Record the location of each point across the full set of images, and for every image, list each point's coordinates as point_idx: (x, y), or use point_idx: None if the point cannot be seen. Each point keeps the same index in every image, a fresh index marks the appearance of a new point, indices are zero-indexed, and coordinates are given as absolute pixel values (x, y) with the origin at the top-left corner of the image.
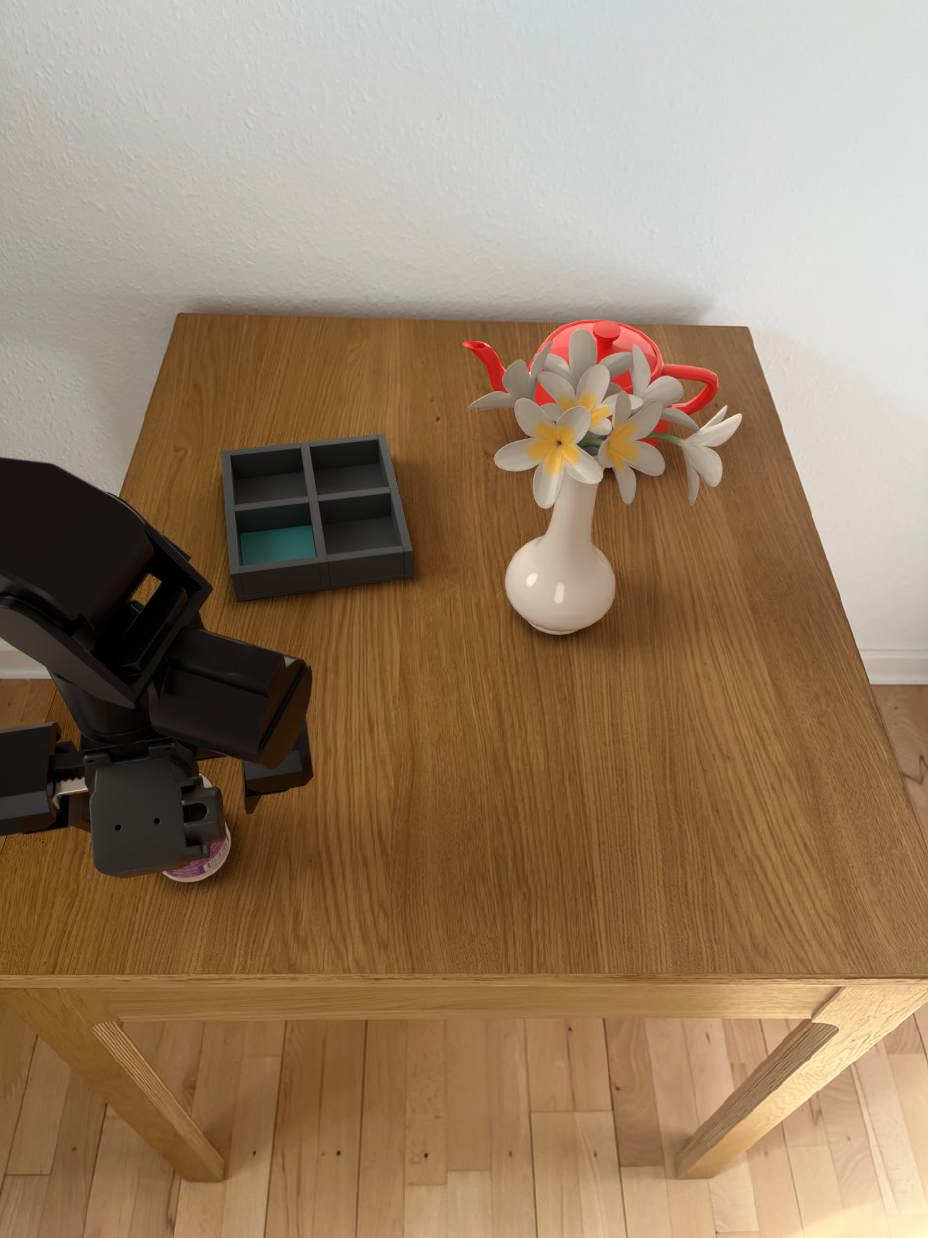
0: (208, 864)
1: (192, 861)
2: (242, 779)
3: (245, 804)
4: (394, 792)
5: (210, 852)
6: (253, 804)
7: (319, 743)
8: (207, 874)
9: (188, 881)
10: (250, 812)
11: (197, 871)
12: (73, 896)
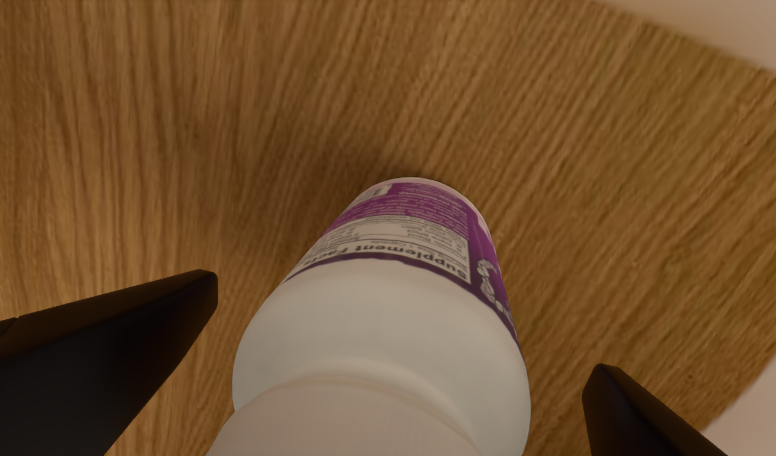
0: (375, 194)
1: (398, 206)
2: (125, 395)
3: (125, 309)
4: (44, 209)
5: (350, 214)
6: (117, 297)
7: None
8: (393, 181)
9: (437, 182)
10: (191, 275)
11: (405, 188)
12: (683, 248)
